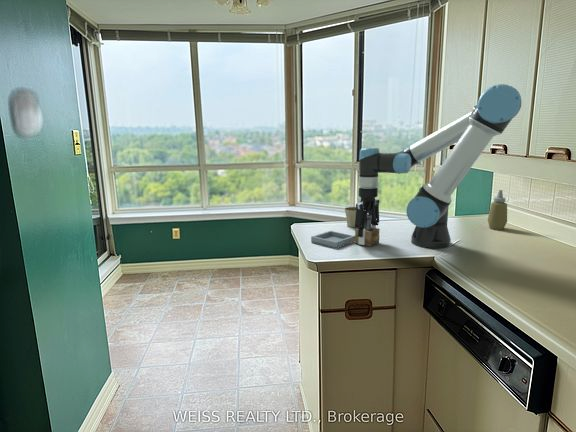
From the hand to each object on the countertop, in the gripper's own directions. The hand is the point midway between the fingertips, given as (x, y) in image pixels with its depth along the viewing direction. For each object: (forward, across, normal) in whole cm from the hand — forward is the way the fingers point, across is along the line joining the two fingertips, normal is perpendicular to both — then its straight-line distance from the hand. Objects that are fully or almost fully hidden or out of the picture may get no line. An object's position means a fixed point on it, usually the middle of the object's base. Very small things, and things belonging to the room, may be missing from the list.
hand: (366, 242), depth 159 cm
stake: (+1, 0, 0) cm, 1 cm away
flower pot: (+1, -21, -21) cm, 30 cm away
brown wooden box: (0, 0, 0) cm, 0 cm away
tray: (0, +8, -12) cm, 14 cm away
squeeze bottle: (+1, -61, +31) cm, 68 cm away
